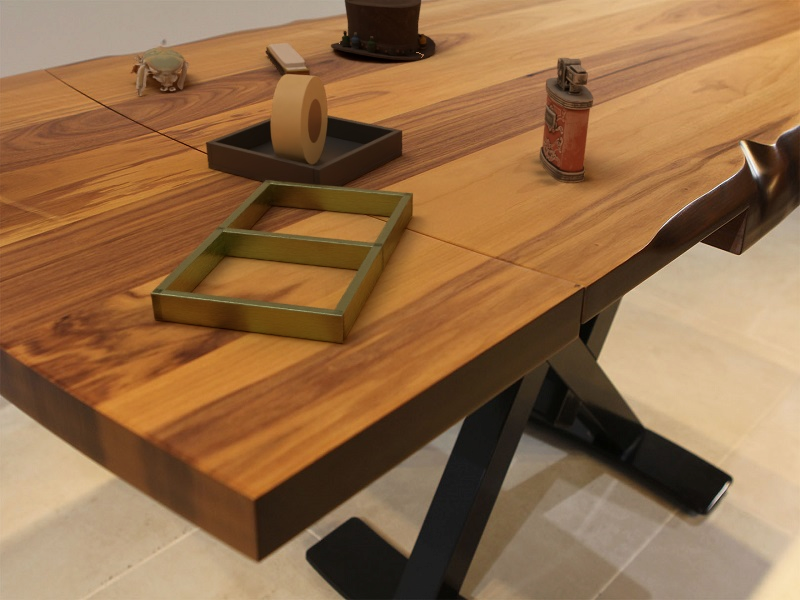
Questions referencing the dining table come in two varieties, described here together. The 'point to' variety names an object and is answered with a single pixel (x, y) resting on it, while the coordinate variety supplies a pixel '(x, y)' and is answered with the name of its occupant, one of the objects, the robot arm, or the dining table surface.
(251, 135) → the tray
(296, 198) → the rack
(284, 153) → the tape
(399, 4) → the top hat
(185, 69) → the crab toy
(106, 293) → the dining table surface
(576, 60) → the lighter
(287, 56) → the harmonica
